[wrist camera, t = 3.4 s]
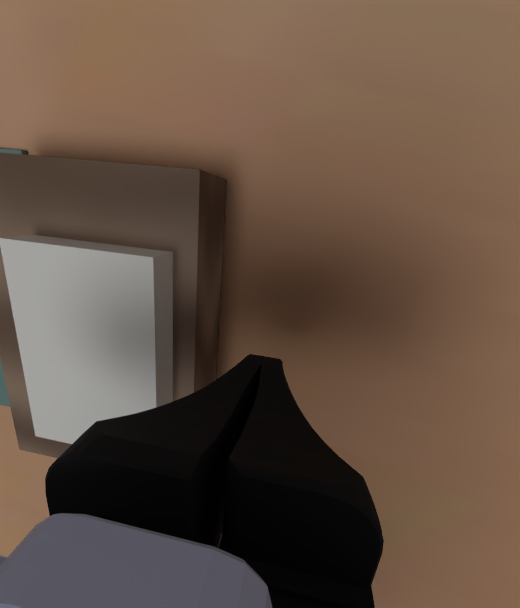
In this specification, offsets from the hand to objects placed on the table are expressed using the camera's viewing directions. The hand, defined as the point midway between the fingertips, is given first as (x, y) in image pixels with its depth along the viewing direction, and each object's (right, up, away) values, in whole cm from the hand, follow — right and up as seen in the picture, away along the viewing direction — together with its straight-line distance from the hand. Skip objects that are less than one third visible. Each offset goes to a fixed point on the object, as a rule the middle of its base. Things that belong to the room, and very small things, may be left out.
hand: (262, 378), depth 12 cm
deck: (-7, +2, +5) cm, 9 cm away
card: (-7, +1, +1) cm, 7 cm away
